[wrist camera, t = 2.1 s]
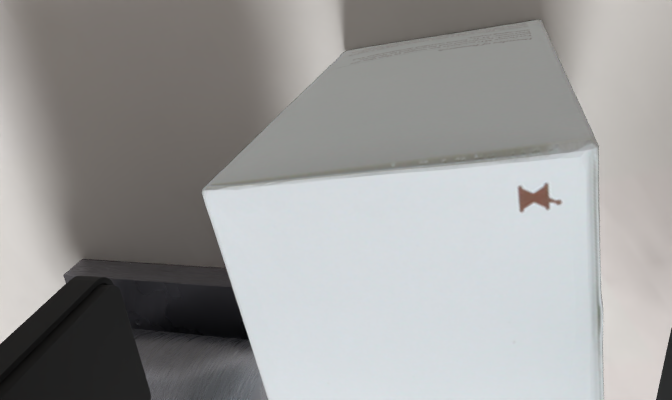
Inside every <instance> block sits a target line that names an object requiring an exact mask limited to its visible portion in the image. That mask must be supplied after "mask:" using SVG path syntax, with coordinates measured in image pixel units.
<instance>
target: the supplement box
mask: <svg viewBox="0 0 672 400" xmlns="http://www.w3.org/2000/svg"><path fill="white" fill-rule="evenodd" d="M202 195H203V198H204V202H205V205H206V208H207V211H208V214H209V217H210V220H211V223H212V226H213V229H214V232H215V235H216V238H217V241H218V244H219V247H220V250H221V253H222V257H223V260H224V263H225V266H226V269H227V272H228V275H229V279H230V282H231V285H232V288H233V291H234V294H235V297H236V300H237V304H238V307H239V310H240V313H241V316H242V319H243V322H244V325H245V328H246V331H247V335H248V338H249V341H250V344H251V347H252V350H253V353H254V356H255V360H256V363H257V366H258V369H259V372H260V375H261V378H262V381H263V385H264V388H265V391H266V394H267V398H268V400H604V379H603V303H602V295H601V266H600V212H599V146H598V143H597V141H596V139H595V137H594V134H593V132H592V130H591V128H590V125H589V123H588V121H587V119H586V116H585V114H584V112H583V110H582V108H581V106H580V104H579V102H578V99H577V97H576V95H575V93H574V91H573V89H572V86H571V84H570V82H569V80H568V78H567V76H566V74H565V71H564V69H563V67H562V65H561V63H560V60H559V58H558V56H557V54H556V52H555V50H554V47H553V45H552V43H551V41H550V39H549V37H548V34H547V32H546V30H545V28H544V26H543V22H542V21H541V20H533V21H527V22H521V23H515V24H508V25H502V26H496V27H490V28H485V29H478V30H472V31H465V32H459V33H453V34H447V35H441V36H434V37H428V38H421V39H415V40H409V41H402V42H396V43H389V44H383V45H377V46H371V47H365V48H359V49H354V50H348V51H345V52H343V53H342V54H341V55H340V56H339V57H338V58H337V59H336V61H335V62H333V63H332V64H331V65H330V66H329V67H328V68H327V69H326V70H325V71H324V72H323V73H322V74H321V75H320V76H319V77H318V78H317V79H316V80H315V81H314V82H313V83H312V84H311V85H309V86H308V87H307V88H306V89H305V90H304V91H303V92H302V93H301V94H300V95H299V96H298V97H297V98H296V99H295V100H294V101H293V102H292V103H291V104H290V105H289V106H288V107H287V108H285V109H284V110H283V111H282V112H281V113H280V114H279V115H278V116H277V117H276V118H275V119H274V120H273V121H272V122H271V123H270V124H269V125H268V126H267V127H266V128H265V129H264V130H263V131H262V132H261V133H260V134H258V136H257V137H256V138H255V139H254V140H253V141H252V142H251V143H250V144H248V145H247V146H246V148H245V149H243V150H242V151H241V152H240V153H239V154H238V155H237V156H236V157H235V158H234V159H233V160H232V161H231V162H230V163H229V164H228V165H227V166H226V167H225V168H224V169H223V170H221V171H220V172H219V173H218V174H217V175H216V176H215V177H214V178H213V179H212V180H211V181H210V182H209V183H208V184H207V185H206V186H205V187H204V188H203V190H202Z"/></svg>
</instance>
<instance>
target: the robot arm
mask: <svg viewBox="0 0 672 400" xmlns="http://www.w3.org/2000/svg"><path fill="white" fill-rule="evenodd" d="M0 400H151V393H150V389H149V386H148V382H147V379H146V375H145V372H144V369H143V365H142V362H141V358H140V355H139V352H138V348H137V345H136V341H135V338H134V335H133V331H132V328H131V324H130V321H129V318H128V314H127V311H126V307H125V304H124V301H123V297H122V294H121V291H120V289H119V288H118V287H117V286H114V284H113V282H112V281H111V280H110V279H109V278H106V277H96V276H75V277H74V278H72V279H71V280H70V281H69V282H68V283H66V284H65V285H64V286H63V287H62V288H61V289H60V290H59V291H58V292H57V293H56V294H55V295H53V296H52V297H51V298H50V299H49V300H48V301H47V302H46V303H45V304H44V305H43V306H41V307H40V308H39V309H38V310H37V311H36V312H35V313H34V314H33V315H32V316H31V317H29V318H28V319H27V320H26V321H25V322H24V323H23V324H22V325H21V326H20V327H19V328H17V329H16V330H15V331H14V332H13V333H12V334H11V335H10V336H9V337H8V338H7V339H5V340H4V341H3V342H2V343H1V344H0ZM656 400H672V329H671V333H670V338H669V342H668V347H667V352H666V356H665V361H664V366H663V370H662V375H661V379H660V384H659V389H658V393H657V398H656Z"/></svg>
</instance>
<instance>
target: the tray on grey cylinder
mask: <svg viewBox="0 0 672 400" xmlns="http://www.w3.org/2000/svg"><path fill="white" fill-rule="evenodd" d="M75 276H96V277H106V278H109V279H110V280H111V281H112V282H113V284H114V286H117V287H118V288H119V289H120V291H121V294H122V297H123V301H124V304H125V307H126V311H127V314H128V318H129V321H130V324H131V328H132V331H133V335H134V338H135V341H136V345H137V348H138V352H139V355H140V358H141V362H142V365H143V369H144V372H145V375H146V379H147V382H148V386H149V389H150V393H151V400H268V398H267V394H266V391H265V388H264V385H263V381H262V378H261V375H260V372H259V369H258V366H257V363H256V360H255V356H254V353H253V350H252V347H251V344H250V341H249V338H248V335H247V331H246V328H245V325H244V322H243V319H242V316H241V313H240V310H239V307H238V304H237V300H236V297H235V294H234V291H233V288H232V285H231V282H230V279H229V275H228V272H227V269H225V268H210V267H194V266H179V265H163V264H148V263H132V262H117V261H102V260H86V259H82V260H81V261H80V262H78V263H77V264H76V265H75V266H74V267H72V268H71V269H70V270H69V271H68V272H66V273H65V274H64V278H65V281H66V283H68V282H69V281H70V280H71V279H72V278H74V277H75Z"/></svg>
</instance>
